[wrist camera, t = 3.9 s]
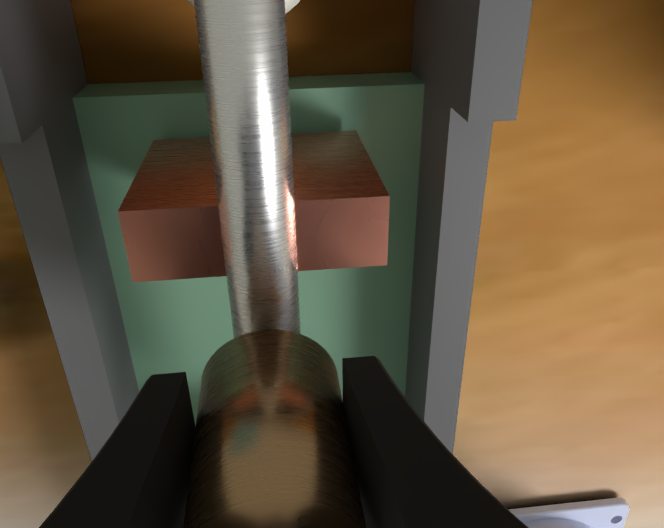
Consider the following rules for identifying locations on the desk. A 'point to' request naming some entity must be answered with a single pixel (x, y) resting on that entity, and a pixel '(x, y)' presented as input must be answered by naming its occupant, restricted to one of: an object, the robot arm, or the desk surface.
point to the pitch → (314, 285)
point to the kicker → (260, 276)
